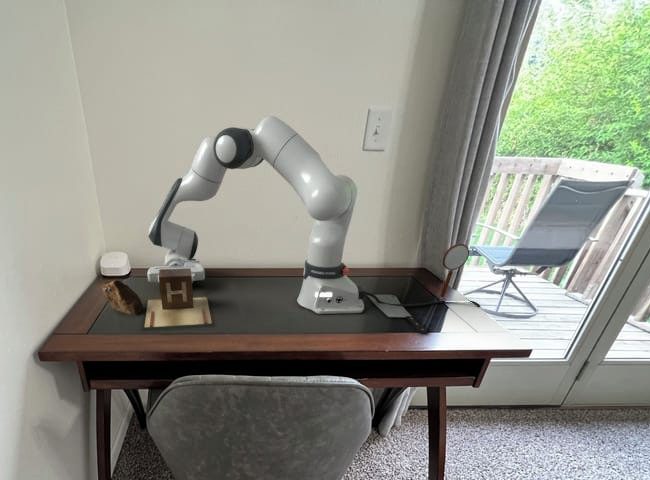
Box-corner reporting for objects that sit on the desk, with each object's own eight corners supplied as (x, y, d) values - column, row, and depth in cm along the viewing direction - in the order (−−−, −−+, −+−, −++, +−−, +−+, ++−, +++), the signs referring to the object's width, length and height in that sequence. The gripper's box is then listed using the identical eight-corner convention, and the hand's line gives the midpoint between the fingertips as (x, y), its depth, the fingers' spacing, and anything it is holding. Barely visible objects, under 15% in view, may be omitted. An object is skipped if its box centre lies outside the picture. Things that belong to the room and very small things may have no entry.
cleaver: (397, 333, 104) (430, 333, 104) (397, 332, 104) (431, 332, 104) (366, 295, 129) (393, 295, 129) (366, 294, 128) (394, 294, 129)
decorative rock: (104, 311, 114) (98, 279, 108) (117, 304, 119) (111, 273, 113) (135, 318, 110) (129, 285, 104) (146, 311, 115) (142, 279, 109)
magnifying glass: (430, 302, 124) (449, 244, 113) (427, 300, 126) (446, 243, 115) (453, 301, 125) (474, 244, 114) (450, 299, 127) (471, 243, 116)
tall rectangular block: (192, 299, 121) (190, 268, 115) (193, 308, 115) (191, 276, 109) (162, 301, 120) (159, 269, 114) (162, 310, 114) (158, 277, 108)
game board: (206, 299, 124) (206, 296, 123) (212, 325, 107) (212, 322, 106) (148, 302, 121) (147, 298, 120) (144, 329, 104) (144, 326, 104)
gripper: (146, 261, 129) (144, 273, 118) (202, 259, 132) (205, 271, 121) (149, 277, 133) (146, 291, 121) (203, 275, 136) (206, 288, 124)
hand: (176, 281), depth 121 cm, fingers open, 8 cm apart
